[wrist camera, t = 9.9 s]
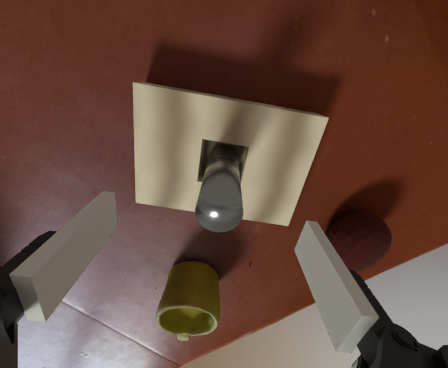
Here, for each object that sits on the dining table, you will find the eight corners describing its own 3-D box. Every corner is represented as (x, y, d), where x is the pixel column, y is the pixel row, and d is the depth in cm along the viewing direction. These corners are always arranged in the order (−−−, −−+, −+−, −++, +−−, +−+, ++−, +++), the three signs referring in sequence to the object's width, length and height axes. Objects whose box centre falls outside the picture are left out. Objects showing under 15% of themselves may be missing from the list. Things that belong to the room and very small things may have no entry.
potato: (385, 216, 31) (418, 246, 25) (336, 259, 35) (355, 293, 29) (348, 194, 29) (375, 220, 24) (301, 242, 33) (315, 274, 28)
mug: (166, 250, 32) (165, 325, 25) (225, 253, 37) (238, 318, 30) (149, 284, 39) (145, 350, 32) (200, 284, 44) (206, 342, 37)
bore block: (145, 189, 30) (135, 202, 27) (145, 82, 24) (132, 82, 21) (282, 211, 31) (288, 226, 28) (316, 113, 25) (328, 117, 22)
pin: (207, 169, 27) (193, 229, 16) (210, 142, 26) (196, 188, 15) (235, 173, 27) (238, 234, 16) (240, 147, 26) (247, 195, 15)
